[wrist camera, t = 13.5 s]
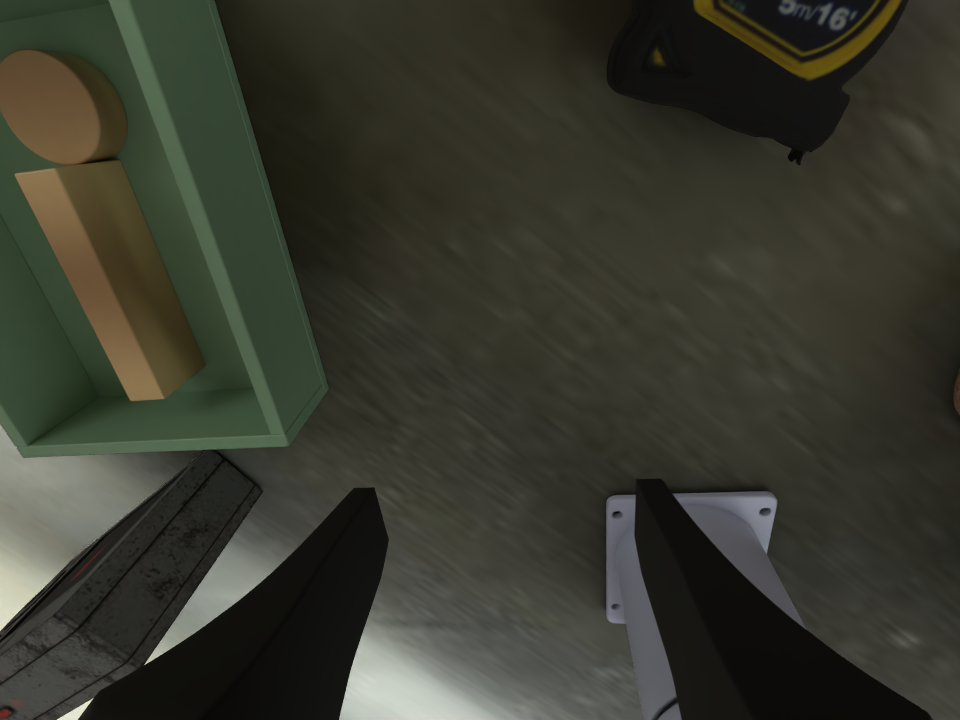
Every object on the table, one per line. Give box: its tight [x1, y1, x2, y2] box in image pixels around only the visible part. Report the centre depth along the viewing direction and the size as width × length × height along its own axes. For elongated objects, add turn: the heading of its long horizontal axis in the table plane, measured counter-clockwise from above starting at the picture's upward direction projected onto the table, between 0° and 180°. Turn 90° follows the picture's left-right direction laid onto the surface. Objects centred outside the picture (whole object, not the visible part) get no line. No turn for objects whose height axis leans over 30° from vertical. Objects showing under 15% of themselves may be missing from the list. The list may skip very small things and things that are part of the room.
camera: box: [0, 450, 263, 720], centre depth 25 cm, size 16×4×10 cm, turn 129°
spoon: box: [0, 49, 206, 401], centre depth 19 cm, size 13×4×3 cm, turn 7°
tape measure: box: [607, 0, 908, 165], centre depth 14 cm, size 7×7×4 cm
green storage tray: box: [0, 0, 329, 458], centre depth 19 cm, size 16×12×4 cm
